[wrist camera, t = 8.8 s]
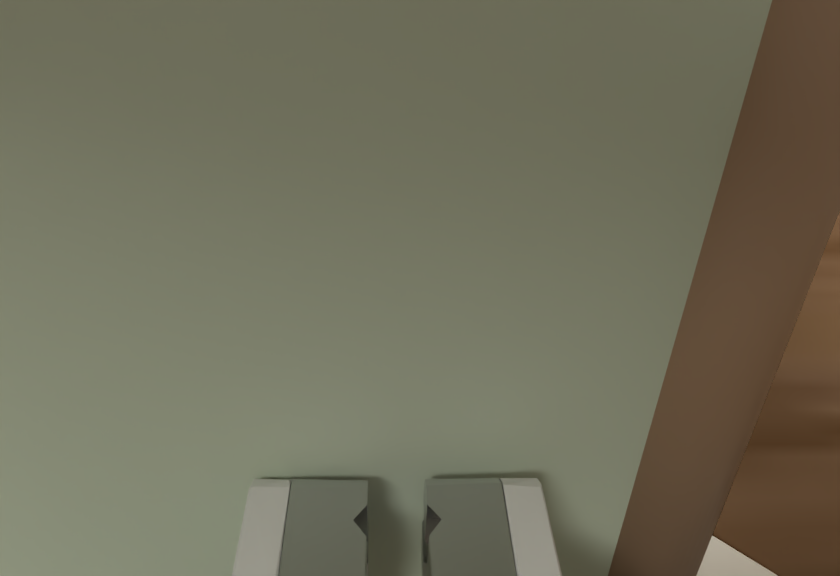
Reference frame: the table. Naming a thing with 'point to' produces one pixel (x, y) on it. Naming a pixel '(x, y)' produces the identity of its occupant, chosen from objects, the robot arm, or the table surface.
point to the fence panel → (398, 264)
